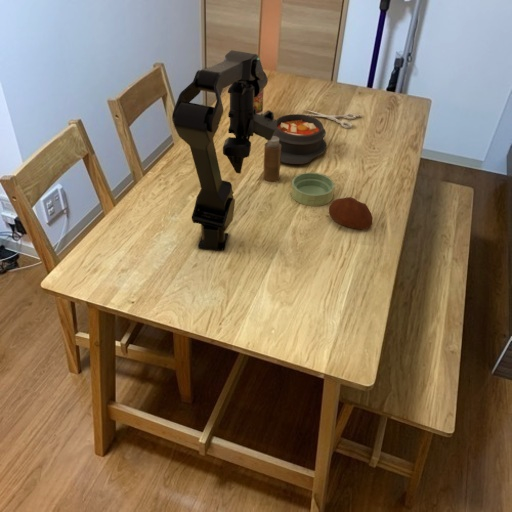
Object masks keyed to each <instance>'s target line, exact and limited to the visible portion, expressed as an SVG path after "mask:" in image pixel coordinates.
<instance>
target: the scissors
mask: <svg viewBox="0 0 512 512" xmlns="http://www.w3.org/2000/svg"><path fill="white" fill-rule="evenodd" d="M306 111H307V112H311V114H308V113H307V114H306V113H304V115H307V116H311V117H320V118H326V119H328V120H332V121H334V122H336V123H337V124H340V125H341V127H343V128H345V129H351V128H352V127H353V124H352V123H351V122H348V121H342V120H339V118H344V119H348V120H355V119H356V118H361V117H362V114H354V113H349V112H348V113H345V114H339V115H335V114H324V113H321V112H317V111H314V110H309V109H306Z"/></svg>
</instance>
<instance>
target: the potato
mask: <svg viewBox="0 0 512 512" xmlns="http://www.w3.org/2000/svg"><path fill="white" fill-rule="evenodd" d="M328 214H329V217H330V218H331V219H332V220H333V221H334V222H336V223H338V224H339V225H342V226H344V227H347V228H351V229H356V230H366V229H369V228H371V226H372V225H373V220H374V219H373V218H374V217H373V214H372V212H371V210H370V208H369V206H368V205H367V204H366V203H364V202H361V201H359V200H357V199H356V198H354V197H350V196H349V197H341V198H337V199H335V200H333V201H332V202H330V204H329V206H328Z"/></svg>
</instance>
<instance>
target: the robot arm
mask: <svg viewBox="0 0 512 512" xmlns="http://www.w3.org/2000/svg"><path fill="white" fill-rule="evenodd" d="M258 58H259V55H258V54H257V53H252V52H246V51H242V50H241V51H240V50H235V49H231V50H230V51H229V52H227V53H226V54H225V55H224V60H223V61H220V62H219V63H215V64H214V65H212V66H210V67H208V68H204V69H203V68H202V69H198V70H197V71H196V72H195V75H194V77H193V80H192V81H191V83H190V84H189V85H187V87H185V88H184V89H183V90H181V92H180V93H179V95H178V98H177V100H176V103H175V105H174V108H173V110H172V114H171V115H172V116H171V119H172V123H173V126H174V129H175V130H176V132H177V135H178V137H179V138H180V139H181V140H182V141H184V142H185V143H186V144H187V145H188V146H189V148H190V152H191V156H192V159H193V164H194V167H195V170H196V174H197V178H198V181H199V185H200V189H199V191H198V194H197V196H196V199H195V203H194V207H193V212H192V215H191V222H192V223H193V224H199V225H200V233H201V236H200V238H199V242H198V245H197V248H198V249H200V250H201V249H202V250H211V251H218V252H219V251H220V252H223V251H225V250H226V246H227V242H228V239H229V233H228V232H226V231H227V229H228V228H229V226H230V225H231V224H232V222H233V219H234V212H235V207H236V200H235V198H234V194H235V193H234V190H233V184H232V183H231V181H228V180H227V181H226V180H223V179H222V175H221V169H220V165H219V160H218V156H217V151H216V146H215V142H214V137H215V135H216V133H217V131H218V130H219V125H220V122H221V120H222V117H223V114H224V105H223V101H222V96H221V95H222V93H223V90H224V89H225V88H228V90H227V93H228V94H229V111H228V114H227V115H228V116H227V117H228V118H229V127H228V130H227V131H228V132H227V133H228V134H233V135H234V136H235V137H234V136H233V137H231V136H229V137H227V138H225V140H224V143H223V145H222V154H223V155H224V156H225V157H227V159H228V161H229V163H230V164H231V166H232V168H233V170H234V172H235V173H236V174H242V173H241V172H242V168H243V164H244V159H247V158H249V157H250V155H251V149H252V142H251V141H250V138H251V137H253V136H254V134H255V135H256V136H259V137H261V138H264V139H265V140H266V141H268V140H271V139H272V137H273V134H274V132H275V130H276V127H277V122H276V120H277V119H275V116H274V112H273V111H271V110H267V111H266V112H263V114H261V115H259V114H256V108H255V107H254V98H255V97H256V96H258V94H259V93H260V92H261V91H262V90H263V89H265V88H266V87H267V85H268V81H269V80H268V77H267V73H266V72H265V71H264V68H263V65H262V61H261V59H260V60H257V59H258ZM201 91H202V92H206V93H207V92H208V93H212V94H215V99H216V102H215V105H214V106H209V105H205V104H199V103H195V102H192V101H193V100H194V99H195V98H196V97H197V96H198V95H200V93H201Z"/></svg>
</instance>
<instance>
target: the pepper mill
mask: <svg viewBox="0 0 512 512" xmlns="http://www.w3.org/2000/svg"><path fill="white" fill-rule="evenodd" d="M263 154H264V155H263V171H262V172H263V174H262V175H263V176H262V178H263V180H264V181H265V182H268V183H275V182H278V181H279V180H280V174H281V161H280V159H281V144H280V143H279V138H278V137H277V136H273V137H272V139H271V140H266V142H265V144H264V153H263Z"/></svg>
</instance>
